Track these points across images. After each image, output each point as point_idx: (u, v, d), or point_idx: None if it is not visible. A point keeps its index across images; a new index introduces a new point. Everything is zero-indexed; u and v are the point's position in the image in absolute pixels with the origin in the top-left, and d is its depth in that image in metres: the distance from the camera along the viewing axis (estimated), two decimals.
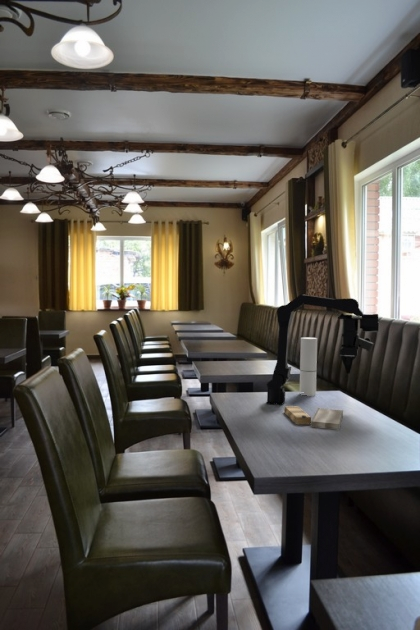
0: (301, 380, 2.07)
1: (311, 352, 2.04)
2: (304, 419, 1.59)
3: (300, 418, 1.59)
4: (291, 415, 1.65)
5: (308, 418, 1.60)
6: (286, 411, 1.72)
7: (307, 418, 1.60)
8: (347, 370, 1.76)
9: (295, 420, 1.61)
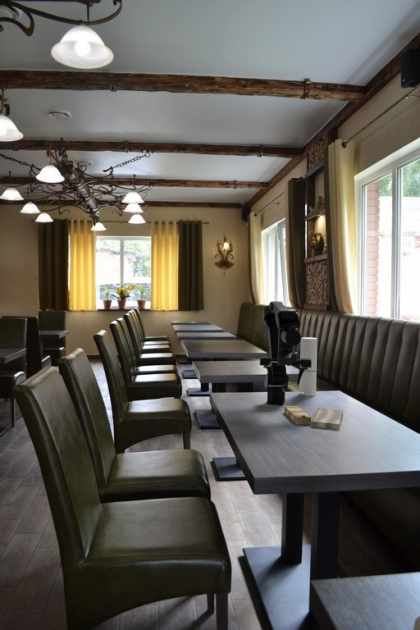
0: (301, 380, 2.07)
1: (311, 352, 2.04)
2: (304, 419, 1.59)
3: (300, 418, 1.59)
4: (291, 415, 1.65)
5: (308, 418, 1.60)
6: (286, 411, 1.72)
7: (307, 418, 1.60)
8: None
9: (295, 420, 1.61)
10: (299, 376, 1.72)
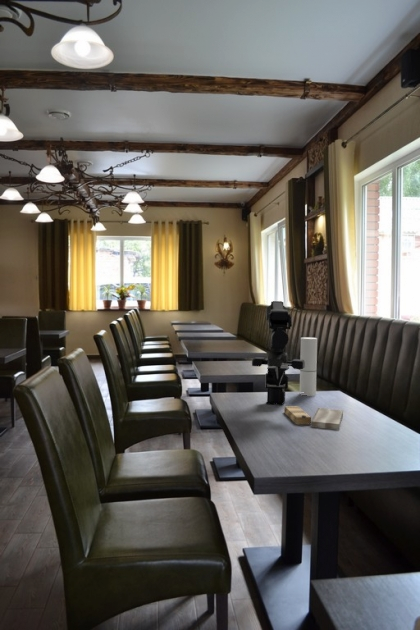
0: (301, 380, 2.07)
1: (311, 352, 2.04)
2: (304, 419, 1.59)
3: (300, 418, 1.59)
4: (291, 415, 1.65)
5: (308, 418, 1.60)
6: (286, 411, 1.72)
7: (307, 418, 1.60)
8: None
9: (295, 420, 1.61)
10: (279, 377, 1.73)
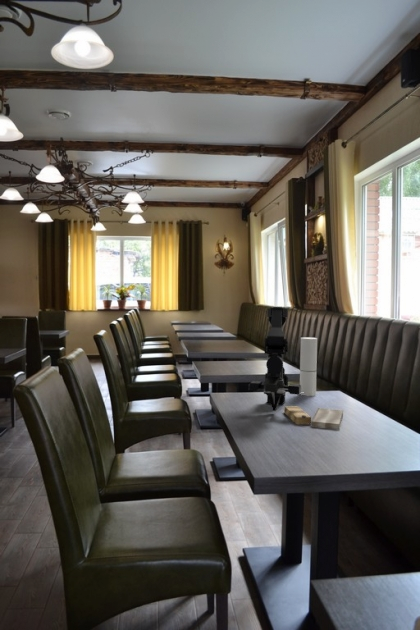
0: (301, 380, 2.07)
1: (311, 352, 2.04)
2: (304, 419, 1.59)
3: (300, 418, 1.59)
4: (291, 415, 1.65)
5: (308, 418, 1.60)
6: (286, 411, 1.72)
7: (307, 418, 1.60)
8: None
9: (295, 420, 1.61)
10: (275, 401, 1.72)
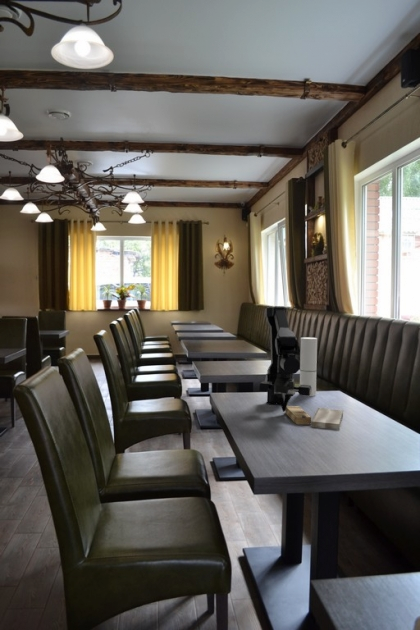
0: (301, 380, 2.07)
1: (311, 352, 2.04)
2: (304, 419, 1.59)
3: (300, 418, 1.59)
4: (292, 415, 1.65)
5: (308, 418, 1.60)
6: (287, 411, 1.72)
7: (307, 418, 1.59)
8: None
9: (295, 420, 1.61)
10: (285, 402, 1.71)
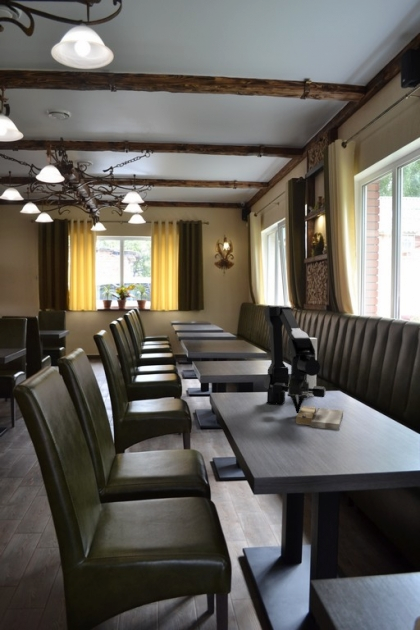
0: None
1: None
2: (304, 419, 1.59)
3: (300, 418, 1.60)
4: None
5: (308, 419, 1.59)
6: None
7: (307, 418, 1.59)
8: None
9: None
10: (299, 404, 1.70)
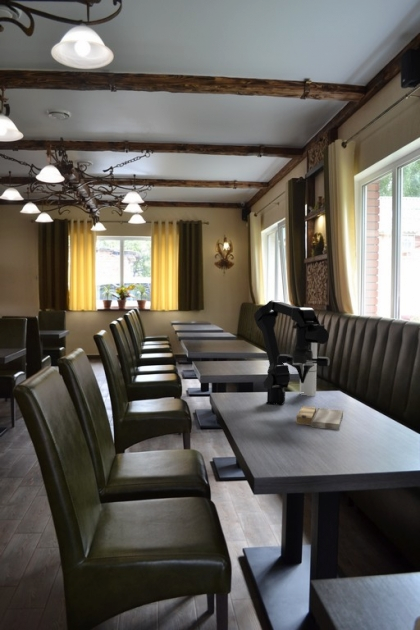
0: None
1: None
2: (304, 419, 1.59)
3: (300, 418, 1.60)
4: None
5: (308, 419, 1.59)
6: None
7: (307, 418, 1.59)
8: None
9: None
10: (304, 374, 1.74)
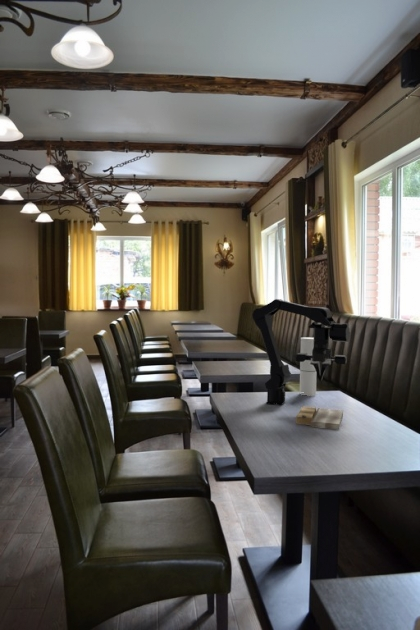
0: (301, 380, 2.07)
1: (311, 352, 2.04)
2: (304, 419, 1.59)
3: (300, 418, 1.60)
4: None
5: (308, 419, 1.59)
6: None
7: (307, 418, 1.59)
8: None
9: None
10: (322, 372, 1.79)
